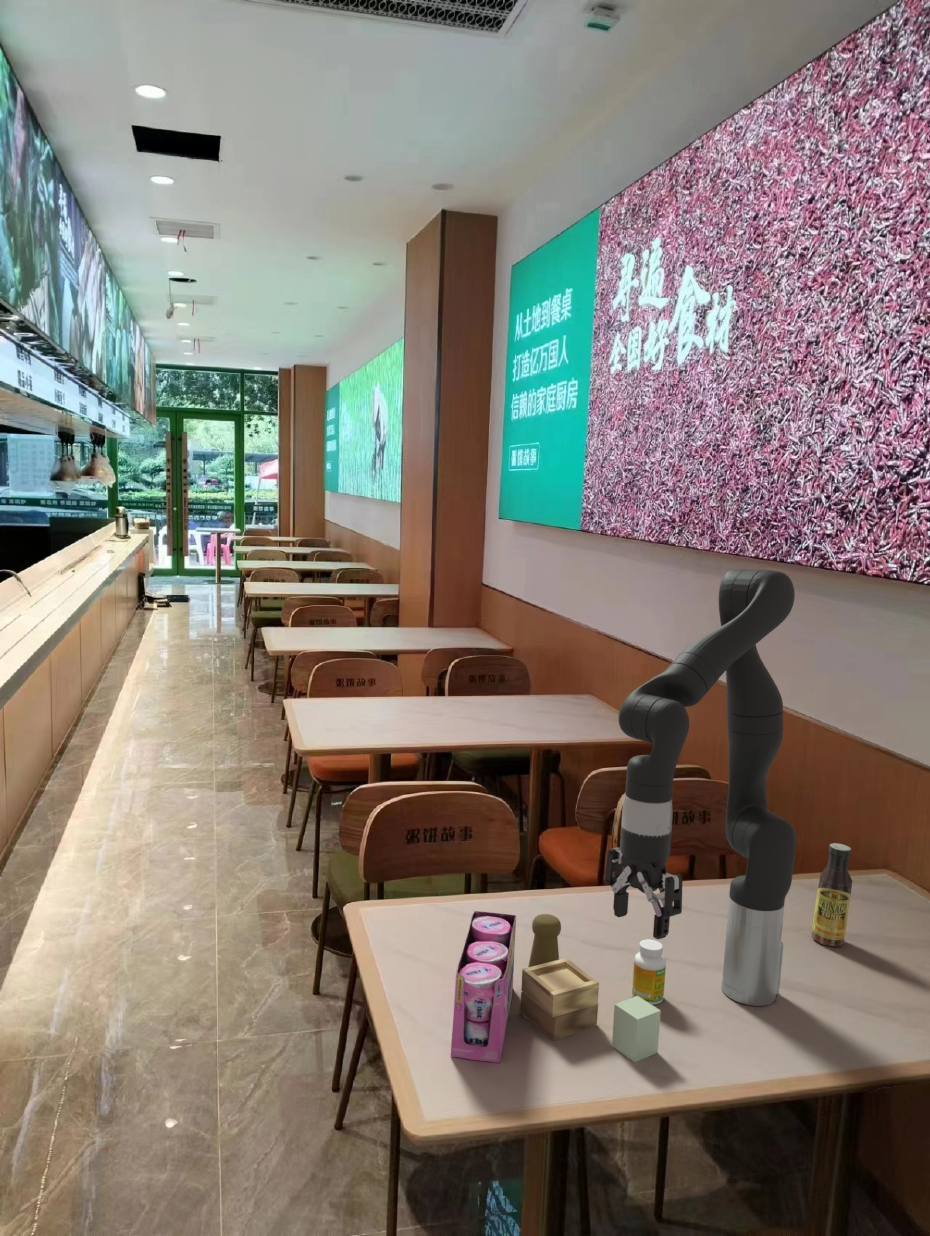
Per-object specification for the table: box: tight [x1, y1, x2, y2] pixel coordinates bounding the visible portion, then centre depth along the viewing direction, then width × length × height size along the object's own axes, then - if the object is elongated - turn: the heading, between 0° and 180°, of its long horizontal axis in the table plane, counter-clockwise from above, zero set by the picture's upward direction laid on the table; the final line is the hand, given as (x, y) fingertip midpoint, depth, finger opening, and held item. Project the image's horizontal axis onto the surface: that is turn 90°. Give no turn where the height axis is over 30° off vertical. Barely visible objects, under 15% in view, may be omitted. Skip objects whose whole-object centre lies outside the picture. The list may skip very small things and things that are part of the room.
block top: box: [520, 957, 600, 1018], centre depth 150 cm, size 9×9×4 cm
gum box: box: [450, 910, 517, 1064], centre depth 148 cm, size 24×8×14 cm, turn 172°
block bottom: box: [519, 991, 599, 1041], centre depth 150 cm, size 9×9×4 cm
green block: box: [611, 996, 662, 1063], centre depth 143 cm, size 5×5×7 cm
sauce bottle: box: [811, 842, 853, 948], centre depth 182 cm, size 7×6×20 cm
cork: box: [527, 913, 562, 968], centre depth 164 cm, size 6×6×11 cm
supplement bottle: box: [631, 939, 667, 1006], centre depth 158 cm, size 5×5×10 cm
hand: (639, 926), depth 141 cm, fingers open, 8 cm apart
